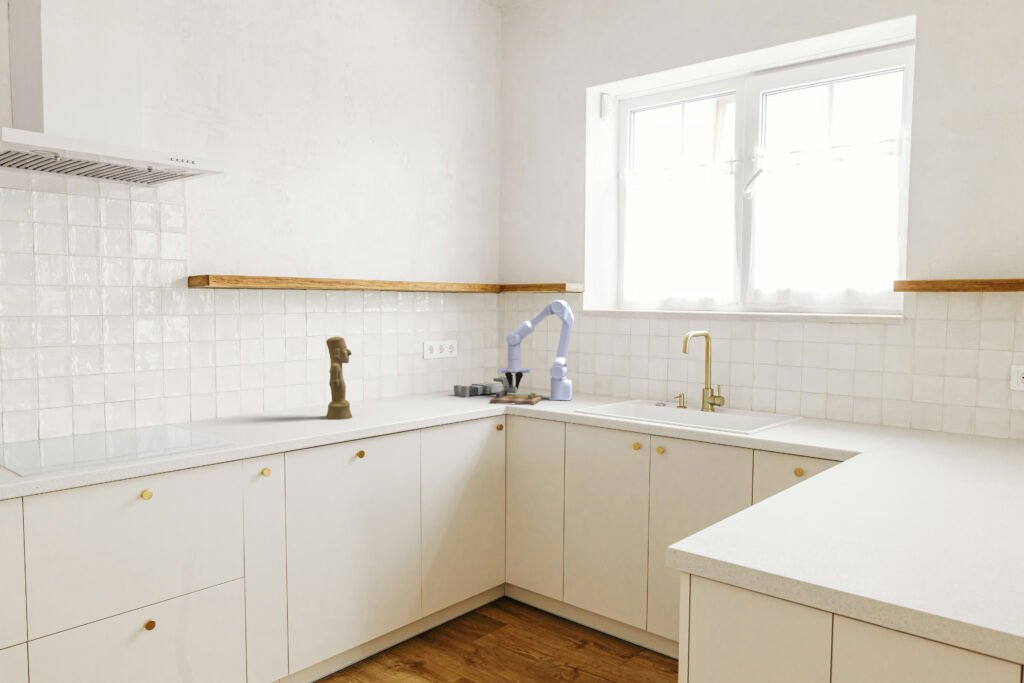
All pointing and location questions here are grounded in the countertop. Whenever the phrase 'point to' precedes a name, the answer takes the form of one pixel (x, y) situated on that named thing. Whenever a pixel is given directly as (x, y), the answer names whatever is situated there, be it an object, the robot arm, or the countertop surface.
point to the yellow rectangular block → (516, 396)
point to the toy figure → (482, 387)
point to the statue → (338, 379)
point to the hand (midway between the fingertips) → (513, 389)
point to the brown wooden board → (502, 398)
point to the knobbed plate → (511, 389)
